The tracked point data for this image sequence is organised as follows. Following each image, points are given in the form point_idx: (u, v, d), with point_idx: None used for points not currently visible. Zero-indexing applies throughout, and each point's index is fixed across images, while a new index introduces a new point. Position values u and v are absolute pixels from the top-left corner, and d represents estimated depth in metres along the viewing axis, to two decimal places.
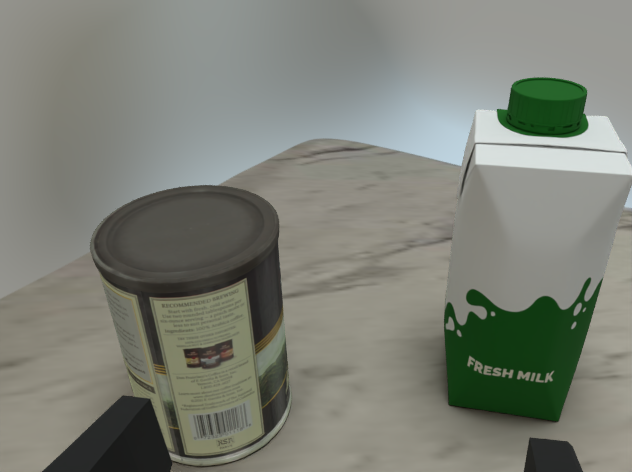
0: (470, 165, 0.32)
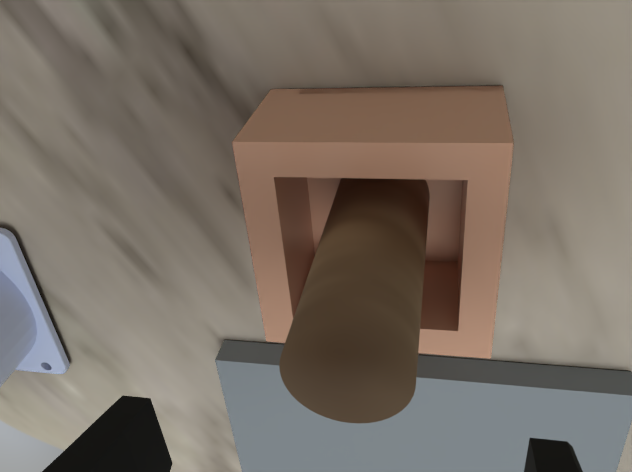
0: None
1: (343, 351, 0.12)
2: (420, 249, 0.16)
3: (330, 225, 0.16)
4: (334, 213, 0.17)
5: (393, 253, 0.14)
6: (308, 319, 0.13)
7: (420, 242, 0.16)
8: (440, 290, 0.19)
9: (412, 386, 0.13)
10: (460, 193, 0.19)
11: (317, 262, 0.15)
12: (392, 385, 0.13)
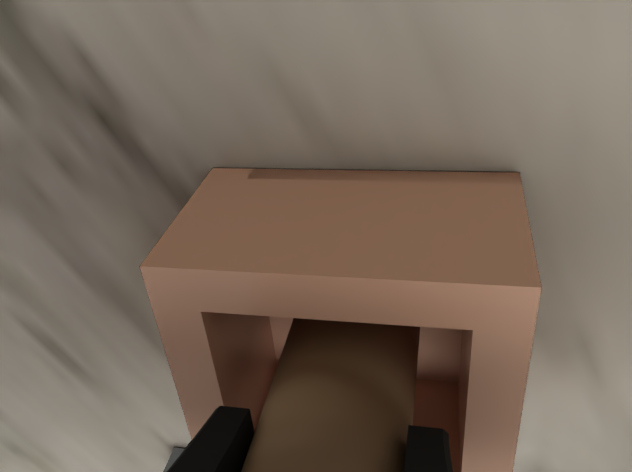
0: None
1: None
2: (406, 413, 0.11)
3: (282, 373, 0.12)
4: (289, 351, 0.12)
5: (364, 441, 0.10)
6: None
7: (406, 400, 0.11)
8: None
9: None
10: None
11: (256, 446, 0.10)
12: None
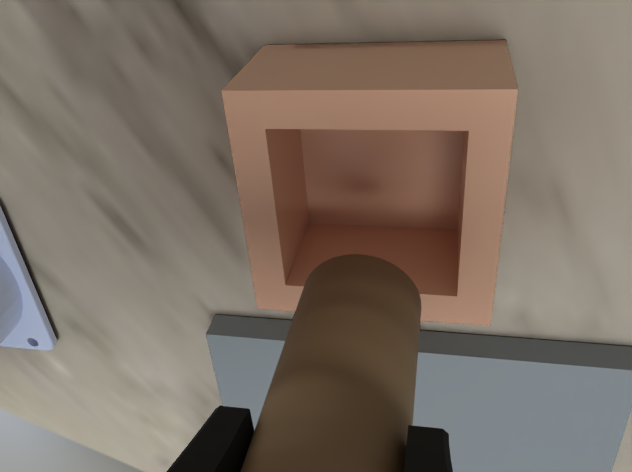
0: None
1: None
2: (405, 412, 0.11)
3: (281, 372, 0.12)
4: (289, 350, 0.12)
5: (364, 440, 0.10)
6: None
7: (406, 399, 0.11)
8: (439, 257, 0.18)
9: None
10: (460, 155, 0.18)
11: (256, 445, 0.10)
12: None
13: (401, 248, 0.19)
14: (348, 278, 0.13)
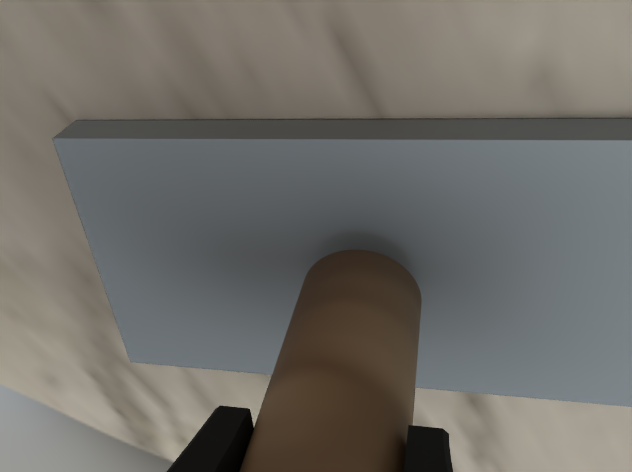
0: None
1: None
2: (405, 408, 0.11)
3: (280, 370, 0.12)
4: (288, 347, 0.12)
5: (363, 437, 0.10)
6: None
7: (405, 395, 0.11)
8: None
9: None
10: None
11: (255, 443, 0.10)
12: None
13: None
14: (347, 274, 0.13)
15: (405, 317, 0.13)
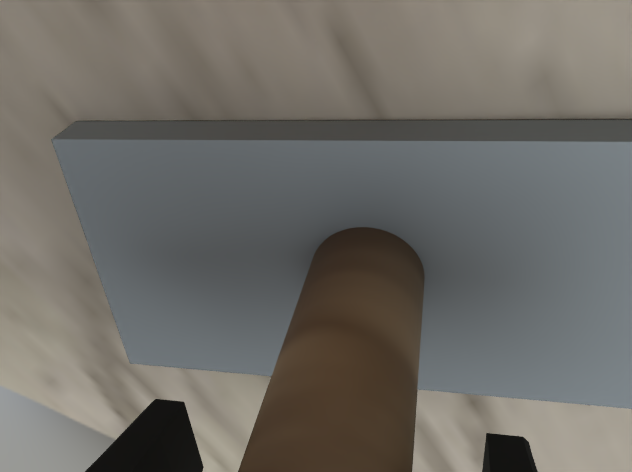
0: None
1: None
2: (411, 366, 0.12)
3: (293, 331, 0.12)
4: (300, 312, 0.13)
5: (373, 385, 0.11)
6: None
7: (411, 354, 0.12)
8: None
9: None
10: None
11: (271, 392, 0.11)
12: None
13: None
14: (355, 248, 0.14)
15: (410, 287, 0.14)
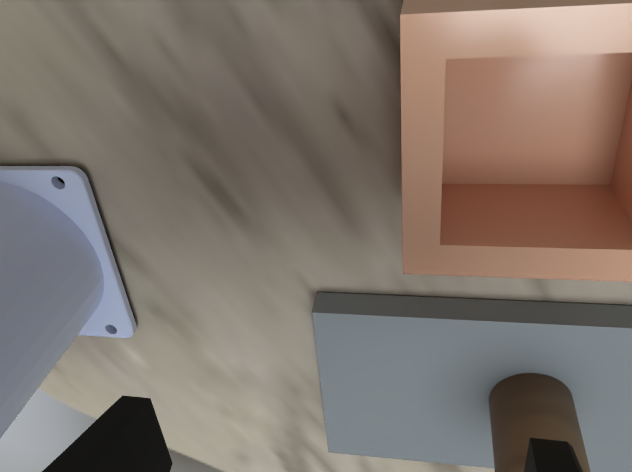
0: None
1: None
2: None
3: (512, 462, 0.19)
4: (510, 445, 0.19)
5: None
6: None
7: None
8: (603, 212, 0.17)
9: None
10: (626, 99, 0.16)
11: None
12: None
13: (556, 204, 0.17)
14: (534, 392, 0.21)
15: (575, 422, 0.20)
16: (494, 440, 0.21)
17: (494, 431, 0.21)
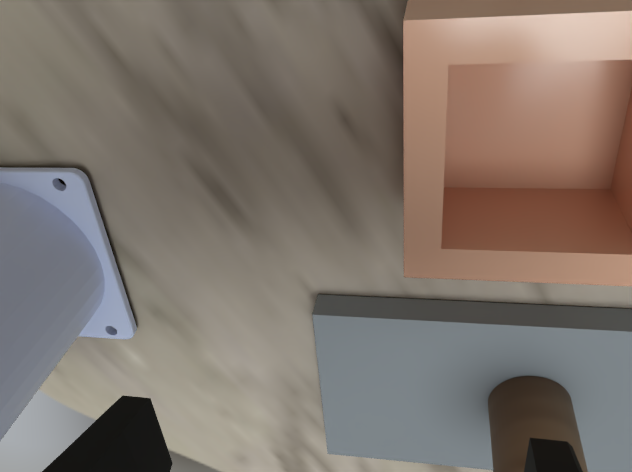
0: None
1: None
2: None
3: (510, 465, 0.19)
4: (509, 448, 0.20)
5: None
6: None
7: None
8: (603, 216, 0.17)
9: None
10: (626, 104, 0.16)
11: None
12: None
13: (556, 209, 0.17)
14: (533, 396, 0.21)
15: (574, 425, 0.20)
16: (493, 443, 0.21)
17: (493, 434, 0.21)
